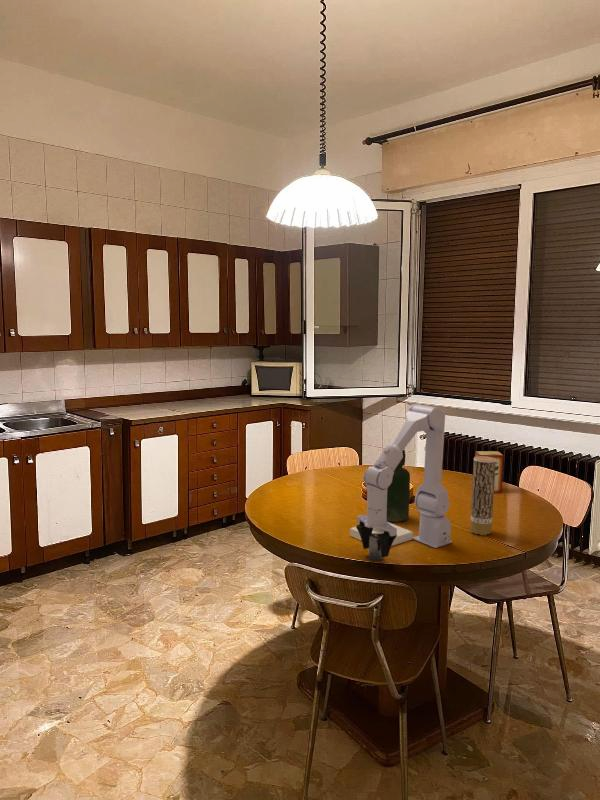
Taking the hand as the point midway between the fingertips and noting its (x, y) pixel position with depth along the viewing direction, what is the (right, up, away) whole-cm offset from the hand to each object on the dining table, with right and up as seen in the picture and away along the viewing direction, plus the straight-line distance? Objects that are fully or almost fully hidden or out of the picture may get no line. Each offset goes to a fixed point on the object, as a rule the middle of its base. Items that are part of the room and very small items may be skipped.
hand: (375, 552), depth 177 cm
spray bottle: (+11, +3, +36) cm, 37 cm away
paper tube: (+37, +1, +22) cm, 43 cm away
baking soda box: (+54, +7, +69) cm, 88 cm away
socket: (+4, 0, +17) cm, 17 cm away
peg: (0, -2, 0) cm, 2 cm away
